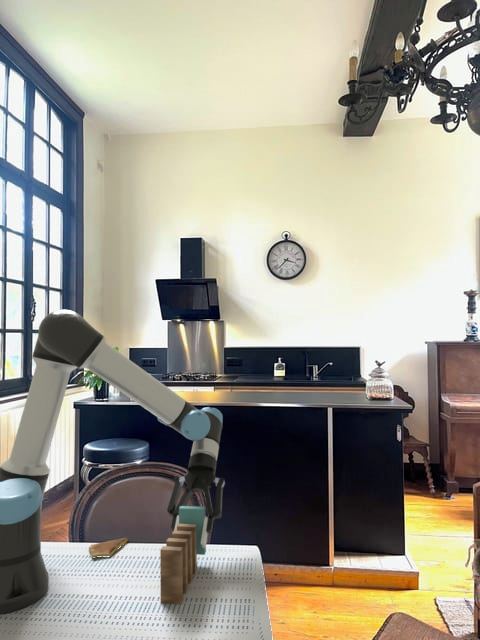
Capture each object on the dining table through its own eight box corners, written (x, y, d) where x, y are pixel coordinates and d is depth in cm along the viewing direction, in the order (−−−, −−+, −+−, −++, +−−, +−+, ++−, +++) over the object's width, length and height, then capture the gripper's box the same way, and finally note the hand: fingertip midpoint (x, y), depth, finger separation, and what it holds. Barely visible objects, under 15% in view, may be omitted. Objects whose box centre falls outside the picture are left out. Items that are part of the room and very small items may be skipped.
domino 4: (166, 592, 98) (166, 541, 98) (168, 588, 99) (168, 537, 100) (185, 593, 97) (185, 542, 97) (187, 589, 99) (187, 539, 99)
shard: (129, 542, 124) (129, 535, 124) (135, 553, 117) (135, 546, 117) (88, 550, 119) (88, 544, 119) (92, 563, 112) (92, 555, 112)
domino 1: (179, 553, 110) (178, 508, 110) (181, 550, 111) (180, 505, 112) (204, 554, 109) (203, 509, 109) (206, 551, 111) (205, 506, 111)
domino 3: (172, 582, 102) (171, 533, 102) (174, 578, 103) (173, 530, 104) (190, 583, 101) (190, 534, 101) (192, 580, 102) (192, 531, 103)
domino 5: (160, 602, 94) (160, 549, 94) (163, 598, 95) (162, 546, 96) (180, 604, 93) (180, 550, 94) (182, 599, 95) (182, 547, 95)
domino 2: (177, 573, 106) (177, 526, 106) (179, 569, 107) (178, 523, 108) (195, 574, 105) (194, 527, 105) (196, 571, 106) (196, 524, 107)
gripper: (239, 466, 125) (230, 553, 108) (173, 464, 128) (154, 549, 111) (236, 452, 120) (225, 541, 103) (167, 450, 123) (146, 536, 106)
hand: (188, 545), depth 107 cm, fingers closed on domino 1, 6 cm apart
